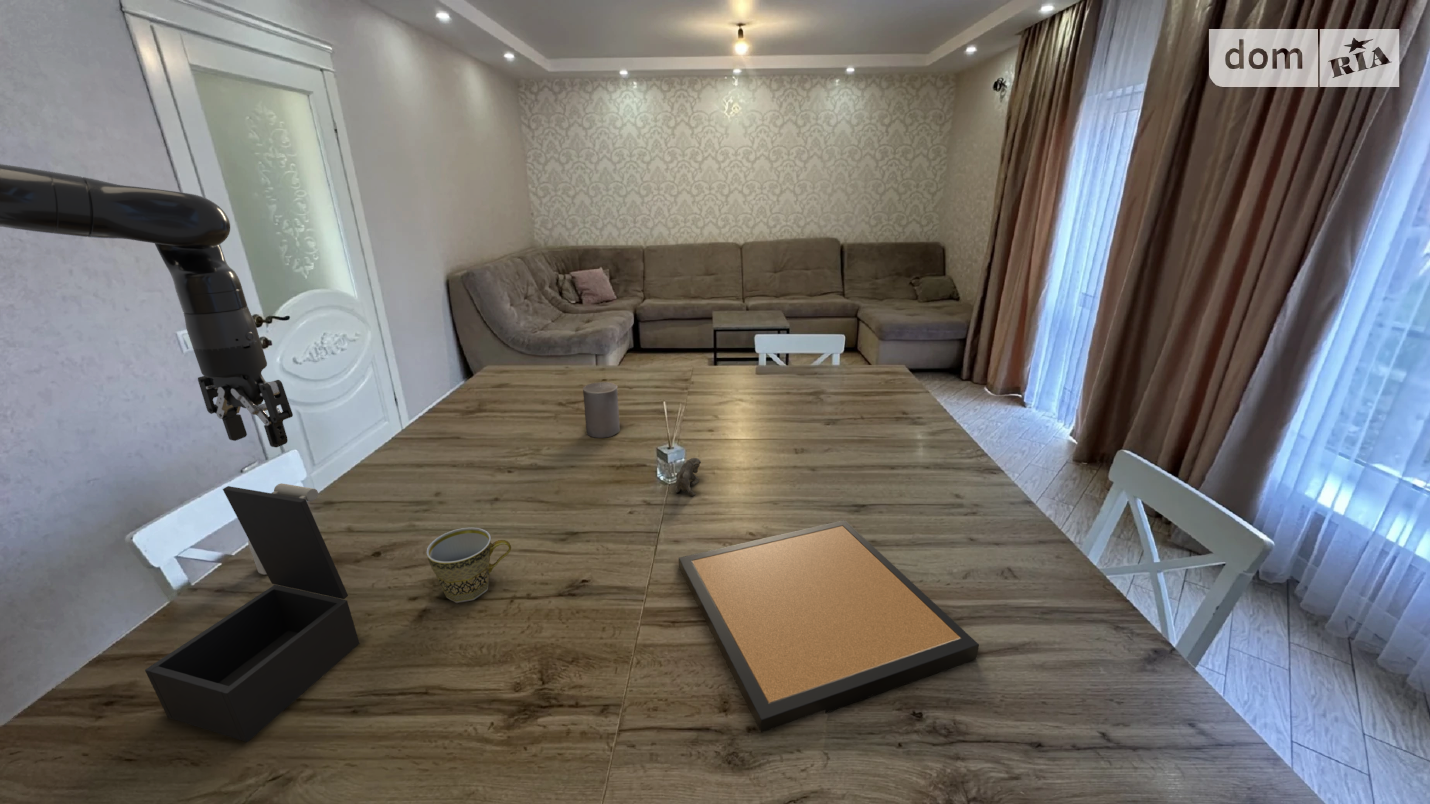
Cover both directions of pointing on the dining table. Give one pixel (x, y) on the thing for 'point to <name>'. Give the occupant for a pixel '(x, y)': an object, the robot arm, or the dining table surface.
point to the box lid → (287, 538)
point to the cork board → (818, 621)
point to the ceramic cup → (463, 562)
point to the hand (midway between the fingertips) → (259, 441)
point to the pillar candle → (601, 409)
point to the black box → (254, 661)
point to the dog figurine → (687, 476)
